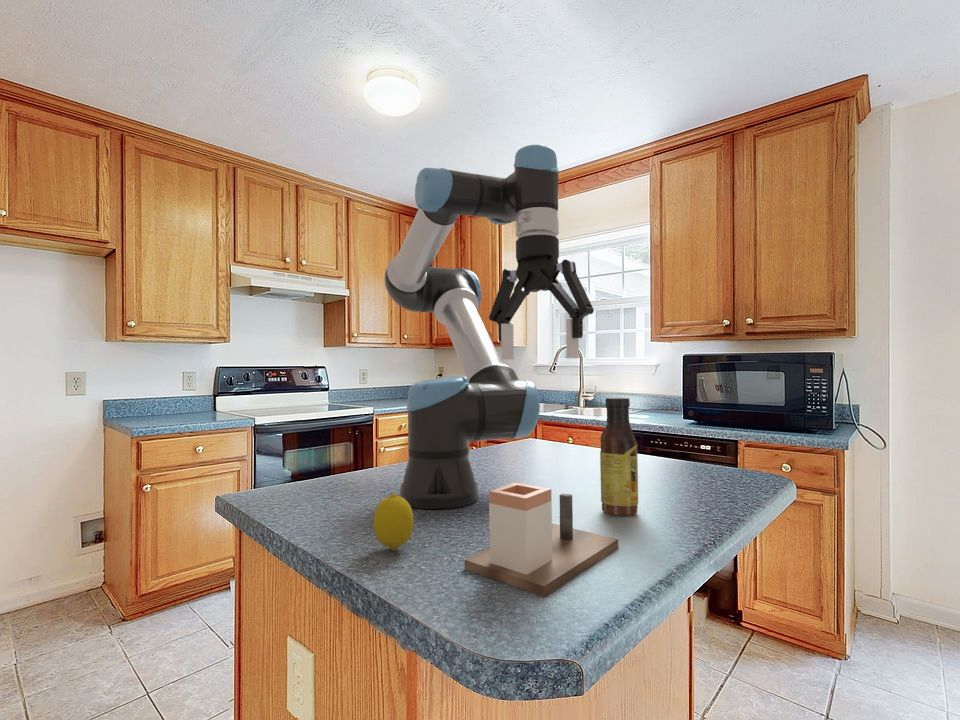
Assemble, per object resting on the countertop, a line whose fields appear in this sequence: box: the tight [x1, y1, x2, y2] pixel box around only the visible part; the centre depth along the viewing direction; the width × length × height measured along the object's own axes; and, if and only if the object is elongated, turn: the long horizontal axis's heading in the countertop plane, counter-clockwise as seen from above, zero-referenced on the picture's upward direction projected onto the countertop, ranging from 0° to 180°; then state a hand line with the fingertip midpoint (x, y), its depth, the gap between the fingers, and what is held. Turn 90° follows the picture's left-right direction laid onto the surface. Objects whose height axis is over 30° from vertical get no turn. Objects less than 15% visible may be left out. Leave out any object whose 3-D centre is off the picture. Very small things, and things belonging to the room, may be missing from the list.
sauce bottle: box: [599, 397, 639, 517], centre depth 87 cm, size 7×6×20 cm
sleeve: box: [488, 482, 553, 575], centre depth 63 cm, size 6×6×9 cm
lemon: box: [373, 493, 415, 552], centre depth 71 cm, size 6×6×8 cm
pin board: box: [464, 493, 619, 597], centre depth 67 cm, size 12×19×7 cm, turn 140°
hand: (538, 359), depth 88 cm, fingers open, 13 cm apart
